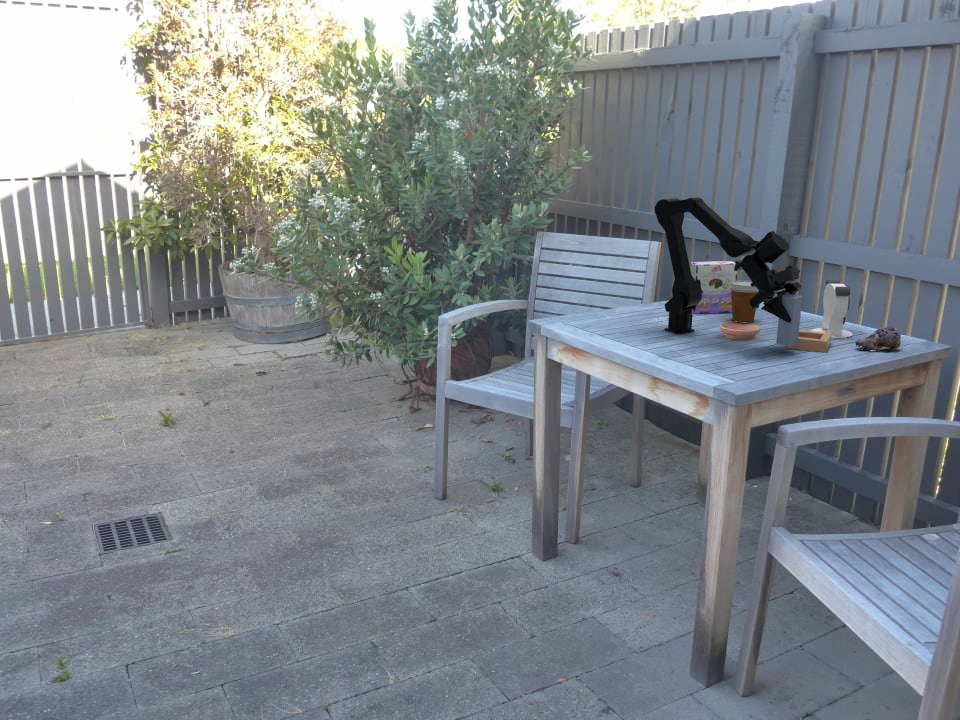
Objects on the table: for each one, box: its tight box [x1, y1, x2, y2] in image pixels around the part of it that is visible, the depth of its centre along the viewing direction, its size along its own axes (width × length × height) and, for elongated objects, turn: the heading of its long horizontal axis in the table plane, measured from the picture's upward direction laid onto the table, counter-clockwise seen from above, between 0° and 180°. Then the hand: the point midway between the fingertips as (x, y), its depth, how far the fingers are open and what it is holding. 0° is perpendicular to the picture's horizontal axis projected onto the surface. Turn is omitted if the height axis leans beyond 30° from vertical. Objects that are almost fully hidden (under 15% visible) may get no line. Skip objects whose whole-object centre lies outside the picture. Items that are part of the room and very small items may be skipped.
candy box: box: [690, 260, 738, 315], centre depth 273 cm, size 14×6×16 cm, turn 94°
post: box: [775, 294, 804, 346], centre depth 223 cm, size 4×4×13 cm
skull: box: [855, 326, 902, 351], centre depth 228 cm, size 12×8×6 cm, turn 90°
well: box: [784, 329, 833, 353], centre depth 232 cm, size 10×10×3 cm
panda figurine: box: [810, 280, 853, 340], centre depth 243 cm, size 12×11×15 cm
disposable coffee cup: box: [730, 280, 759, 324], centre depth 260 cm, size 10×10×12 cm
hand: (794, 320), depth 222 cm, fingers closed on post, 4 cm apart
